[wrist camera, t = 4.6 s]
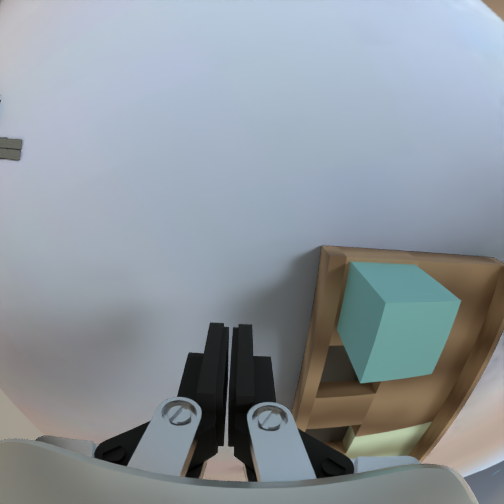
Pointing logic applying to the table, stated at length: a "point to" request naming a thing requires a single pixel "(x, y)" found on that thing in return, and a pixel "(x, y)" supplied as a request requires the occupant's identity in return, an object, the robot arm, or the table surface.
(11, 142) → the phone stand
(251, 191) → the table surface
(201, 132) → the table surface
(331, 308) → the board
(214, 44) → the table surface
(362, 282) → the block
